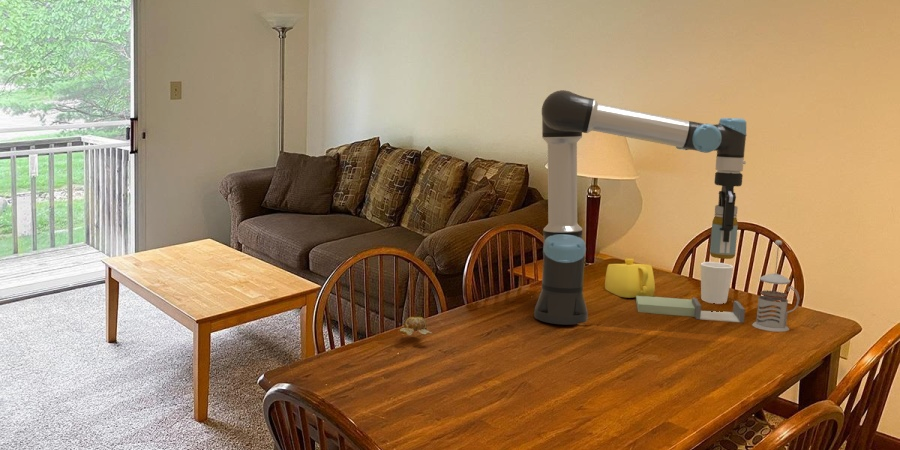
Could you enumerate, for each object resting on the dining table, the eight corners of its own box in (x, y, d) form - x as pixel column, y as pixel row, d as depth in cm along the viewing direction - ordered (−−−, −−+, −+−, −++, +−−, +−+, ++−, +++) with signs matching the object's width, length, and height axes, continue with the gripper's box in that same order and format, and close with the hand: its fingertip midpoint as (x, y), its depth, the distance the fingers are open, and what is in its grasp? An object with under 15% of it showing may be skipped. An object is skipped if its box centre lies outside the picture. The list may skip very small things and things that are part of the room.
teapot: (594, 293, 262) (594, 257, 261) (625, 291, 266) (625, 256, 266) (630, 298, 243) (629, 260, 243) (663, 296, 248) (662, 259, 248)
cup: (736, 306, 249) (740, 266, 247) (716, 309, 243) (720, 268, 241) (710, 299, 257) (713, 260, 255) (690, 302, 251) (693, 263, 249)
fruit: (400, 335, 200) (400, 320, 199) (398, 328, 208) (399, 314, 207) (432, 335, 200) (433, 320, 200) (430, 328, 209) (430, 314, 208)
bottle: (736, 259, 227) (740, 208, 225) (711, 258, 229) (715, 206, 227) (732, 255, 234) (737, 205, 232) (708, 254, 235) (712, 204, 233)
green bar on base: (638, 314, 233) (639, 301, 232) (635, 303, 247) (636, 290, 246) (743, 322, 228) (745, 309, 227) (734, 310, 242) (735, 297, 242)
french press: (757, 320, 231) (765, 236, 228) (799, 327, 224) (808, 241, 221) (748, 327, 223) (756, 239, 220) (791, 334, 216) (800, 245, 213)
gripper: (749, 174, 218) (741, 257, 221) (736, 170, 236) (730, 246, 240) (720, 173, 219) (714, 255, 223) (710, 169, 238) (704, 245, 241)
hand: (722, 250), depth 231 cm, fingers closed on bottle, 5 cm apart
